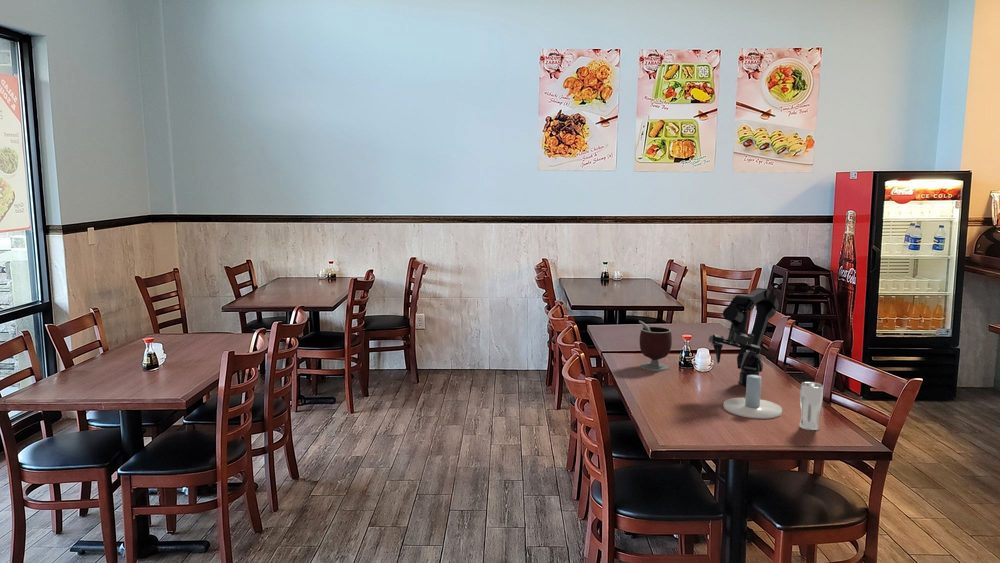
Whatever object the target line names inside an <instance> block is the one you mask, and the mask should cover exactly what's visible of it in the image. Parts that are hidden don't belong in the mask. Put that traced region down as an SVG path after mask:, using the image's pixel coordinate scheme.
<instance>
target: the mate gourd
mask: <svg viewBox="0 0 1000 563" xmlns="http://www.w3.org/2000/svg"><path fill="white" fill-rule="evenodd" d="M638 323H640V324H641V325H642V326H643V327H641V329H640V335H639V348H640V351H641V353H642V355H644V357H646V358H648V359H650V360H651V361H649V362H643V363H641V364H640V368H641V369H643V370H645V369H647V370H646V371H650V370H653V371H652V372H663V370H665V371H667V369H668V370H669V369H670V368H669V367H670V366H669V365H668V364H666V363H663V362H659V360H661V359H664V358H666V357H668V355H669V354H670V352H671V349H672V344H673V337H672V336H673V335H672V329H670V328H667V327H662V326H649V325H648V324H647V323H645V322H643V321H642V320H638Z"/></svg>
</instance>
